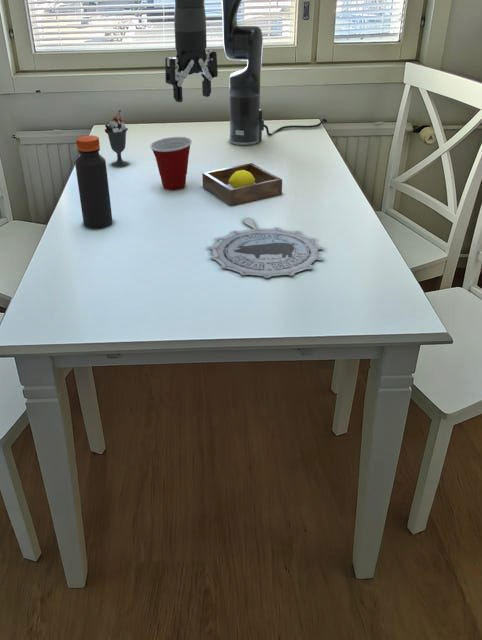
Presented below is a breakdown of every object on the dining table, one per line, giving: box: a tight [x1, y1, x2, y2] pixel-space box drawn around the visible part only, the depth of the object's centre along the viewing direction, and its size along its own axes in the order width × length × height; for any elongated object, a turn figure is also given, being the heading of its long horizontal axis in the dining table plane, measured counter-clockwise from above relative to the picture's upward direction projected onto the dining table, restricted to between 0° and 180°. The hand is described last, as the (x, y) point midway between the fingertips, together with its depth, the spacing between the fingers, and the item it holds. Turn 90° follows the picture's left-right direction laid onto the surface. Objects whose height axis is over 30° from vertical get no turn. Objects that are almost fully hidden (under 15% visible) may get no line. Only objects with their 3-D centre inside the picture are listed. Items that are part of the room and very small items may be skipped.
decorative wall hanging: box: [209, 217, 325, 279], centre depth 137 cm, size 24×1×30 cm
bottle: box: [74, 134, 113, 230], centre depth 144 cm, size 7×7×20 cm
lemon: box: [228, 170, 256, 188], centre depth 163 cm, size 7×5×5 cm
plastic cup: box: [149, 136, 193, 191], centre depth 165 cm, size 11×11×12 cm
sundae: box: [104, 110, 129, 168], centre depth 181 cm, size 7×7×15 cm
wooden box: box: [202, 162, 283, 207], centre depth 164 cm, size 15×15×4 cm
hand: (192, 99), depth 159 cm, fingers open, 8 cm apart
